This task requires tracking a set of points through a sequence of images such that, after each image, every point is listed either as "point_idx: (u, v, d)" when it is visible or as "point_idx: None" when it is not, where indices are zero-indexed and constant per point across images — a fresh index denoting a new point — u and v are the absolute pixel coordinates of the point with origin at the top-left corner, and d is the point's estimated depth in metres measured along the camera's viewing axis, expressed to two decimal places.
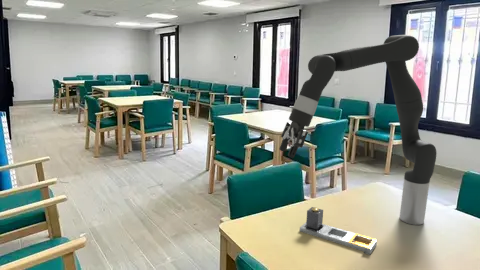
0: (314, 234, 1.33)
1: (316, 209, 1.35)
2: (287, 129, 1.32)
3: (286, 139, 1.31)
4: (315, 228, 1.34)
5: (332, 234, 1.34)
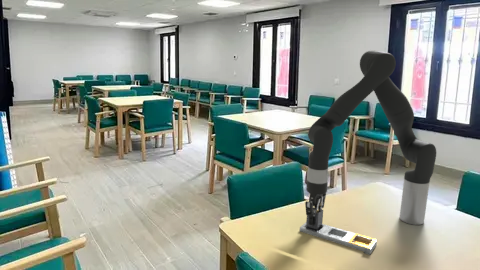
0: (314, 234, 1.33)
1: None
2: None
3: (317, 209, 1.37)
4: (315, 228, 1.34)
5: (332, 234, 1.34)
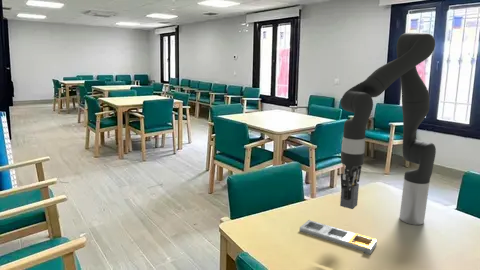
0: (314, 234, 1.33)
1: None
2: None
3: None
4: (350, 203, 1.25)
5: (332, 234, 1.34)
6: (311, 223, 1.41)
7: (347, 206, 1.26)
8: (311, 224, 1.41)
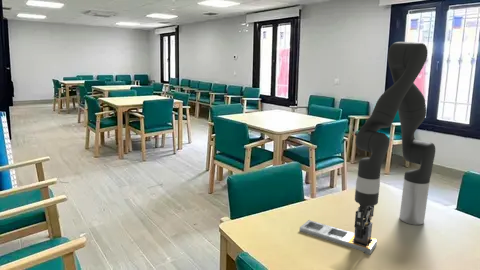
0: (314, 234, 1.33)
1: None
2: None
3: None
4: (364, 243, 1.24)
5: (332, 234, 1.34)
6: (311, 223, 1.41)
7: None
8: (311, 224, 1.41)
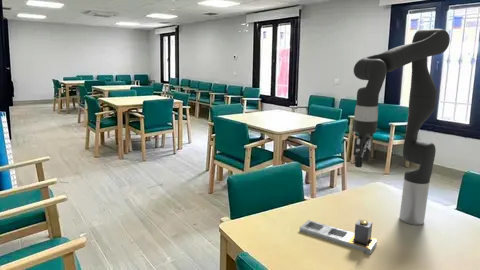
0: (314, 234, 1.33)
1: (365, 222, 1.25)
2: None
3: (366, 149, 1.30)
4: (364, 243, 1.24)
5: (332, 234, 1.34)
6: (311, 223, 1.41)
7: None
8: (311, 224, 1.41)
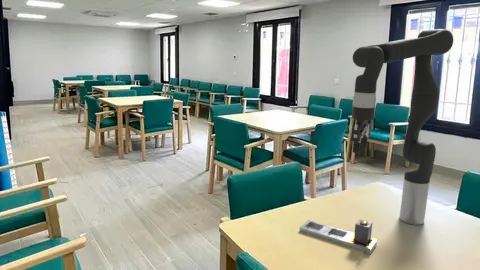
0: (314, 234, 1.33)
1: (365, 222, 1.25)
2: None
3: (364, 136, 1.32)
4: (364, 243, 1.24)
5: (332, 234, 1.34)
6: (311, 223, 1.41)
7: None
8: (311, 224, 1.41)
